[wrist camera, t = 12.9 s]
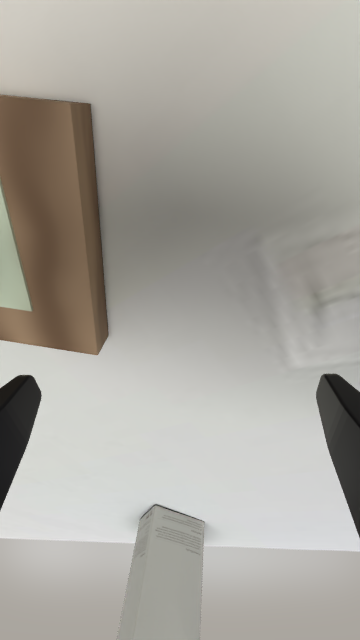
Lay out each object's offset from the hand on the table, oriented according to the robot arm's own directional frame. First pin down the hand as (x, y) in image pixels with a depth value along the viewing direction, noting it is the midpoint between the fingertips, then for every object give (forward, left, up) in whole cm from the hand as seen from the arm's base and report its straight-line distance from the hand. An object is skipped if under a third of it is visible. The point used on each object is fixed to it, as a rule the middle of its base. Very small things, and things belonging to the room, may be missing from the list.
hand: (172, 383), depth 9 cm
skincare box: (-19, +39, -13) cm, 45 cm away
